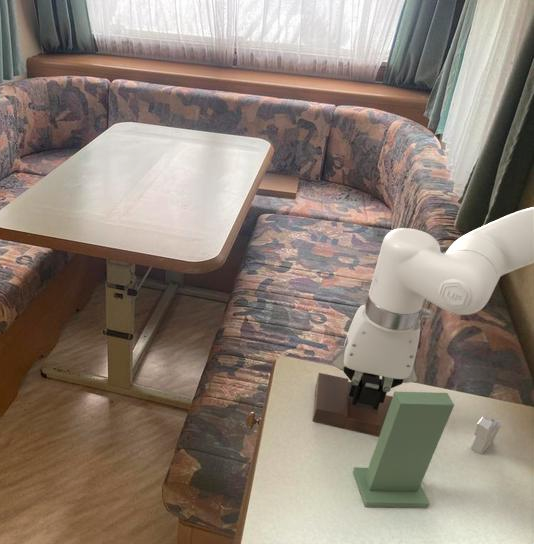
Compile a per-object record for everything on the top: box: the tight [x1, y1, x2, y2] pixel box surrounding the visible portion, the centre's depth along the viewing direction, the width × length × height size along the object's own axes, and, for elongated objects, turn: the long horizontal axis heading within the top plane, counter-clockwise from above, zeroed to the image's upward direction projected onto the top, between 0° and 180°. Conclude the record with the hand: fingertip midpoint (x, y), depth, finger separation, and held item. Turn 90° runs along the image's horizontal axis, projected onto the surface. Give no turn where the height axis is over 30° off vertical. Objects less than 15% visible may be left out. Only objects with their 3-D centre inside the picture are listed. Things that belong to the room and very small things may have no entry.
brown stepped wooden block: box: [312, 372, 393, 438], centre depth 95 cm, size 15×9×3 cm, turn 75°
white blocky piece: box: [470, 416, 503, 455], centre depth 88 cm, size 7×2×8 cm, turn 130°
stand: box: [352, 391, 455, 509], centre depth 79 cm, size 6×9×18 cm, turn 91°
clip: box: [358, 372, 381, 407], centre depth 93 cm, size 3×5×4 cm, turn 165°
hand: (364, 400), depth 95 cm, fingers closed on clip, 2 cm apart
